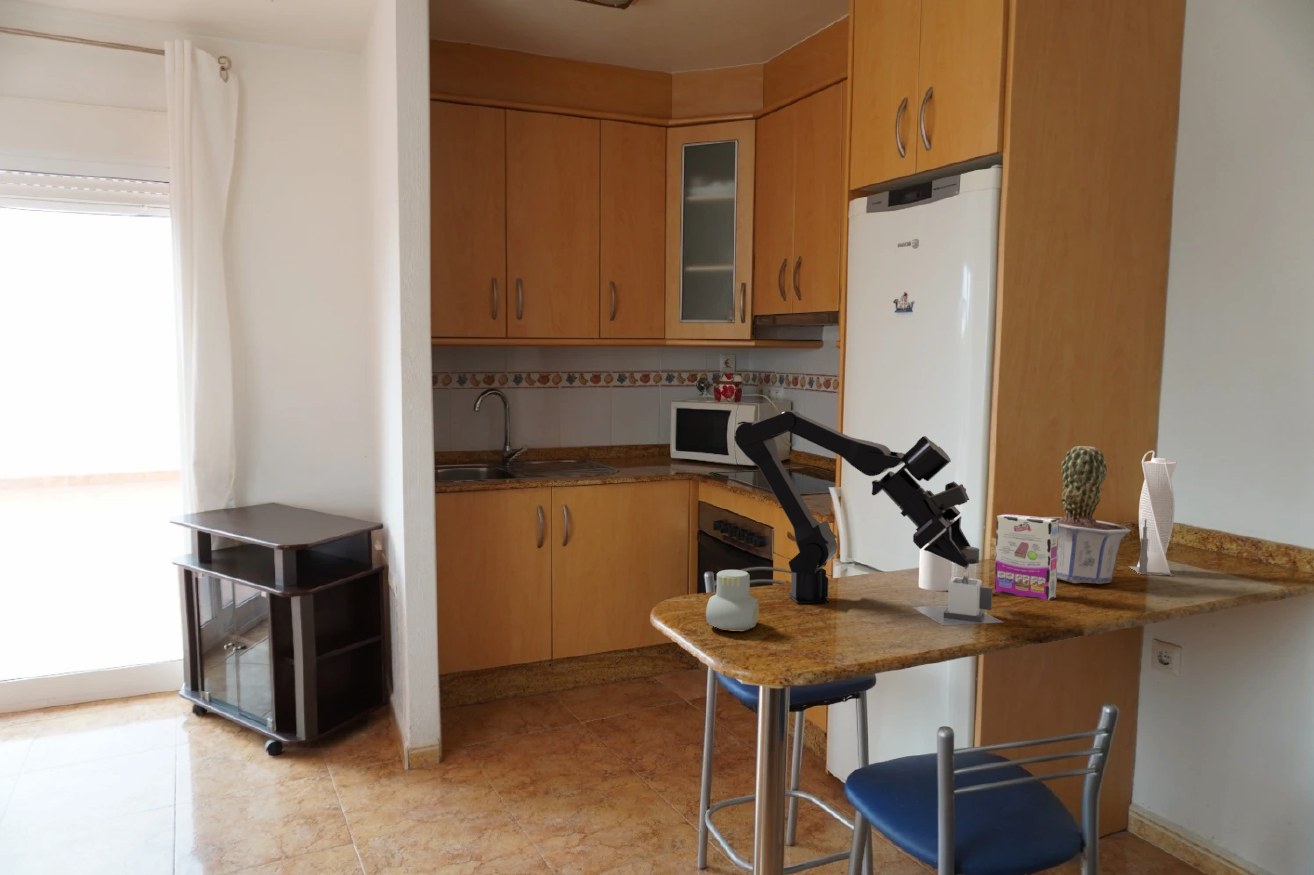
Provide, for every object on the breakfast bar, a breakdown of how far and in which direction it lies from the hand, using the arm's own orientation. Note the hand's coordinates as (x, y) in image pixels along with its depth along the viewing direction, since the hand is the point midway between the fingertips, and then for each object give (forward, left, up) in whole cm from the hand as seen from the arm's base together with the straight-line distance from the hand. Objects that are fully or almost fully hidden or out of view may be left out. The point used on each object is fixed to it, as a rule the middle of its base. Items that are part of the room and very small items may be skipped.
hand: (969, 560), depth 163 cm
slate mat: (-2, +1, -11) cm, 12 cm away
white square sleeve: (0, 0, -10) cm, 10 cm away
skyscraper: (+64, +30, -11) cm, 71 cm away
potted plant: (+42, +25, -11) cm, 50 cm away
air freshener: (-44, +2, -12) cm, 46 cm away
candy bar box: (+22, +15, -12) cm, 29 cm away
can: (+5, +21, -11) cm, 25 cm away
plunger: (0, 0, -5) cm, 6 cm away
